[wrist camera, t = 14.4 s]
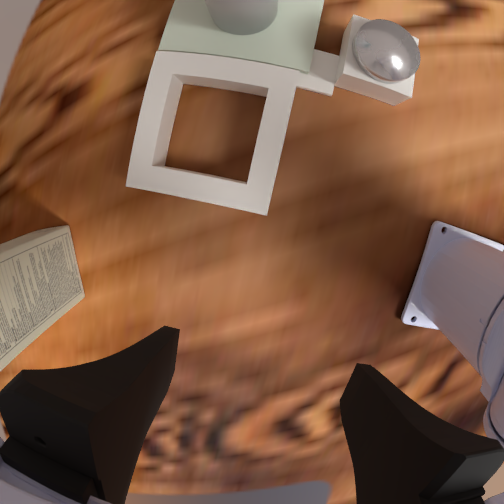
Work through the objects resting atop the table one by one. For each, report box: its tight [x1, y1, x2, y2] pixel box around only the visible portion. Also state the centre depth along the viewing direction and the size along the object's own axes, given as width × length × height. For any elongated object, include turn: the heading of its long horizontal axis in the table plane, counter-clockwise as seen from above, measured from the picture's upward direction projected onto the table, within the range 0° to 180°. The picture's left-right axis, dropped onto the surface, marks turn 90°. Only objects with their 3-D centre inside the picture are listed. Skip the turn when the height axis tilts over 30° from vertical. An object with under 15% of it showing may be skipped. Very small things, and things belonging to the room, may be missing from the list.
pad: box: [158, 0, 324, 74], centre depth 17 cm, size 10×8×1 cm
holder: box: [126, 15, 419, 216], centre depth 18 cm, size 16×14×3 cm
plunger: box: [352, 19, 420, 84], centre depth 16 cm, size 4×4×4 cm
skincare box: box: [0, 225, 85, 371], centre depth 17 cm, size 6×4×12 cm
